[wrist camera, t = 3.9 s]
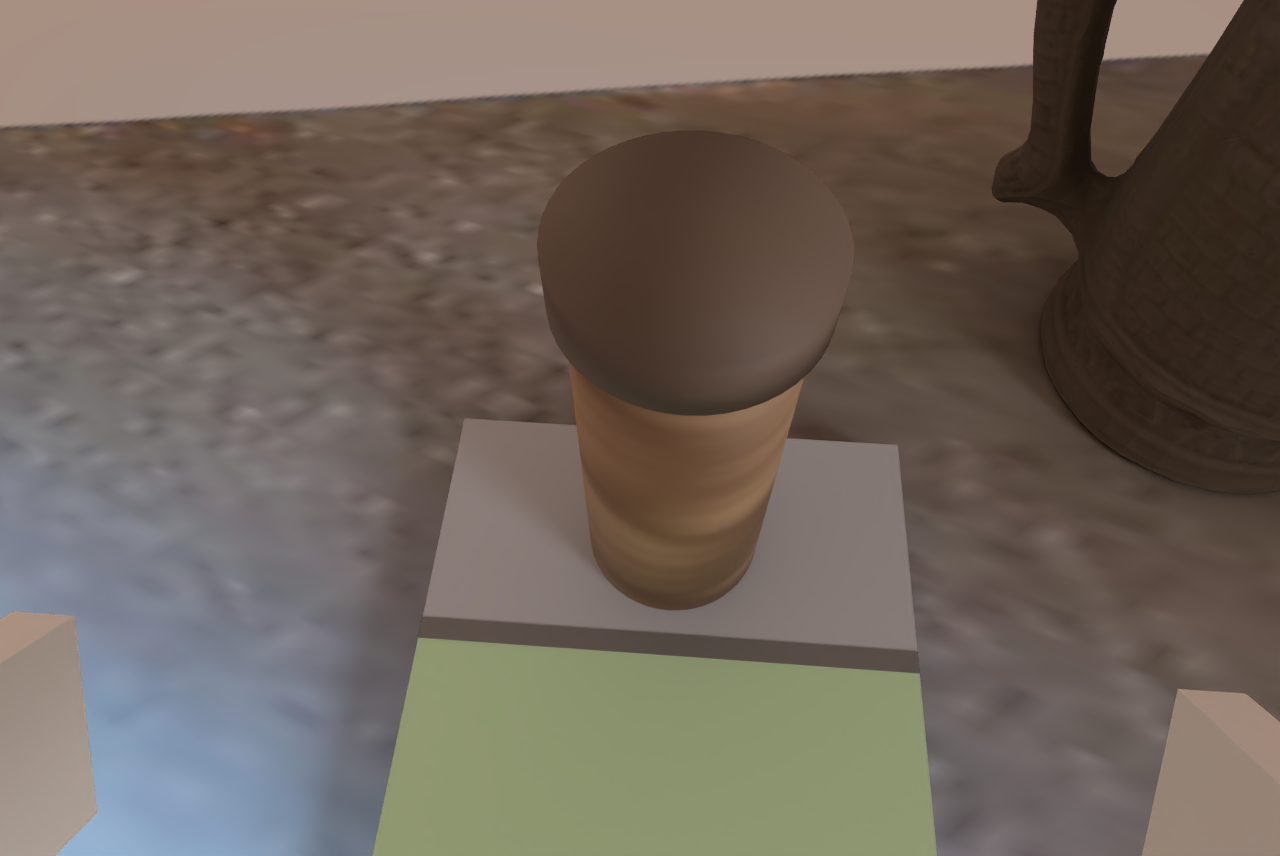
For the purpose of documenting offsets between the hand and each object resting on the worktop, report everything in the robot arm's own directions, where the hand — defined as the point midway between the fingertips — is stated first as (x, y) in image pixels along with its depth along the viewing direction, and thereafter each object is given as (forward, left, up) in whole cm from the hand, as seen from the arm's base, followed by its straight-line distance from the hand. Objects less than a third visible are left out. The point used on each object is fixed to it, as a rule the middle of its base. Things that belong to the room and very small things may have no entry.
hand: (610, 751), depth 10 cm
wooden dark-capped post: (-1, -9, -13) cm, 16 cm away
